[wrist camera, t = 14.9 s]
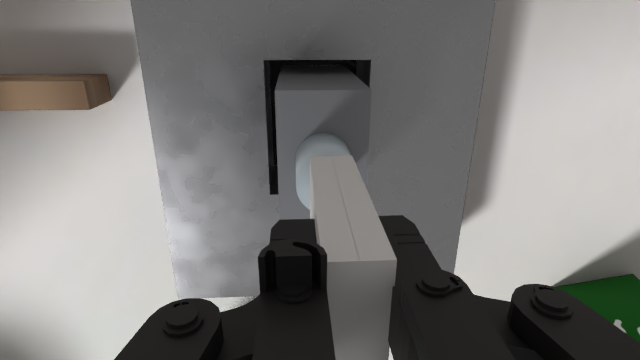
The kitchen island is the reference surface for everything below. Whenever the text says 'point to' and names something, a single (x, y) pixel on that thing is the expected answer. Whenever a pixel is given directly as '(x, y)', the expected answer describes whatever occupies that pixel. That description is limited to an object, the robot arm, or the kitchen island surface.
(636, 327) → the milk carton
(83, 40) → the kitchen island surface
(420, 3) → the port block
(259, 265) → the robot arm
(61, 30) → the kitchen island surface
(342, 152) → the plug
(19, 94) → the wooden planks
